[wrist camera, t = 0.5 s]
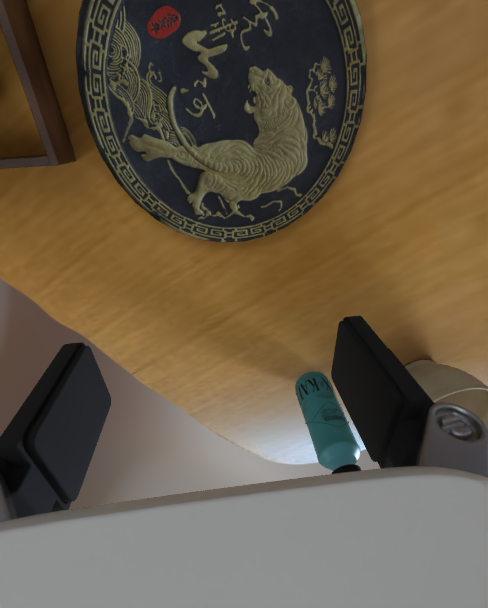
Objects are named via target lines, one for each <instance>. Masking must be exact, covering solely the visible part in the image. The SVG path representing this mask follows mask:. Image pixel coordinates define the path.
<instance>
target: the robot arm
mask: <svg viewBox="0 0 488 608" xmlns="http://www.w3.org/2000/svg"><path fill="white" fill-rule="evenodd" d="M331 375H332V380H333V382H334V384H335V386H336V388H337V390H338V392H339V395H340V397H341V399H342V401H343V403H344V405H345V407H346V409H347V411H348V413H349V415H350V417H351V419H352V421H353V423H354V425H355V427H356V429H357V431H358V433H359V435H360V437H361V439H362V441H363V443H364V445H365V447H366V449H367V451H368V453H369V455H370V457H371V459H372V460H373V461H374V462H376V461H377V462H378V464H379V466H380V468H381V469H374V470H364V471H355V472H345V473H337V474H330V475H322V476H314V477H306V478H298V479H290V480H282V481H275V482H266V483H259V484H251V485H244V486H236V487H229V488H221V489H213V490H205V491H199V492H190V493H183V494H176V495H168V496H161V497H154V498H146V499H139V500H132V501H124V502H118V503H110V504H104V505H95V506H89V507H82V508H76V509H69V507H70V504H71V501H75V500H76V498H77V496H78V494H79V492H80V489H81V486H82V483H83V481H84V478H85V475H86V472H87V469H88V467H89V464H90V461H91V458H92V456H93V452H94V450H95V447H96V445H97V442H98V439H99V436H100V433H101V431H102V428H103V425H104V422H105V420H106V417H107V414H108V411H109V409H110V405H111V397H110V394H109V392H108V389H107V387H106V384H105V382H104V380H103V377H102V375H101V372H100V370H99V367H98V365H97V362H96V360H95V358H94V355H93V353H92V350H91V348H90V347H89V346H85V344H84V343H71V344H65V345H63V347H62V348H61V349H60V351H59V352H58V354H57V355H56V357H55V358H54V360H53V361H52V363H51V364H50V365H49V367H48V368H47V370H46V371H45V373H44V374H43V376H42V377H41V379H40V380H39V381H38V383H37V385H36V386H35V387H34V389H33V390H32V392H31V393H30V395H29V396H28V398H27V399H26V401H25V402H24V403H23V405H22V406H21V408H20V409H19V411H18V412H17V414H16V415H15V417H14V418H13V419H12V421H11V423H10V424H9V425H8V427H7V428H6V430H5V431H4V433H3V434H2V435H1V437H0V608H488V428H487V427H486V425H485V424H484V422H483V421H482V420H481V419H480V418H479V417H478V416H477V415H476V414H474V413H473V412H471V411H470V410H468V409H466V408H464V407H462V406H459V405H456V404H452V403H445V402H441V403H436V404H435V403H434V402H433V401H432V399H431V398H430V397H429V396H428V395H427V393H426V392H425V391H424V390H423V389H422V387H421V386H420V385H419V384H418V383H417V381H416V380H415V379H414V378H413V377H412V375H411V374H410V373H409V372H408V370H407V369H406V368H405V367H404V366H403V364H402V363H401V362H400V361H399V360H398V358H397V357H396V356H395V355H394V354H393V352H392V351H391V350H390V349H389V348H387V347H386V346H385V344H384V343H383V342H382V341H381V340H380V338H379V337H378V336H377V335H376V334H375V332H374V331H373V330H372V329H371V327H370V326H369V325H368V324H367V323H366V321H365V320H364V319H363V318H362V317H361V316H351V317H345V318H344V319H343V321H340V322H339V326H338V333H337V339H336V346H335V352H334V359H333V365H332V372H331ZM68 509H69V510H68Z"/></svg>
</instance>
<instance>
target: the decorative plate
mask: <svg viewBox="0 0 488 608" xmlns="http://www.w3.org/2000/svg"><path fill="white" fill-rule="evenodd" d="M76 61H77V73H78V85H79V92H80V96H81V100H82V104H83V108H84V112H85V116H86V120H87V124H88V127H89V129H90V131H91V134H92V136H93V138H94V141H95V143H96V145H97V148H98V150H99V152H100V155H101V157H102V158H103V160H104V161H105V163H106V165H107V166H108V168H109V169H110V171H111V172H112V174H113V176H114V177H115V179H116V180H117V182H118V183H119V184H120V185H121V186H122V188H123V189H124V190H125V191H126V192H127V193H128V194H129V196H130V197H131V198H132V199H133V200H134V201H135V202H136V203H137V204H138V205H139V206H140V207H142V208H143V209H144V210H145V211H147V212H148V213H149V214H150V215H151V216H153V217H154V218H155V219H156V220H158V221H160V222H162V223H163V224H165V225H167V226H169V227H171V228H172V229H174V230H176V231H178V232H181V233H183V234H186V235H189V236H192V237H195V238H198V239H202V240H209V241H216V242H240V241H248V240H252V239H256V238H260V237H264V236H267V235H269V234H272V233H274V232H276V231H278V230H281V229H283V228H285V227H287V226H288V225H290V224H291V223H293V222H294V221H296V220H297V219H298V218H300V217H301V216H303V215H304V214H306V213H307V212H308V211H309V210H310V209H311V208H312V207H313V206H314V205H315V204H316V203H317V202H318V201H319V200H320V199H321V198H322V197H323V196H324V194H325V193H326V192H327V190H328V189H329V188H330V186H331V185H332V183H333V182H334V181H335V179H336V178H337V177H338V175H339V173H340V171H341V169H342V167H343V165H344V163H345V161H346V159H347V158H348V156H349V154H350V152H351V149H352V146H353V143H354V140H355V137H356V134H357V131H358V128H359V125H360V122H361V117H362V111H363V105H364V99H365V93H366V63H367V54H366V47H365V40H364V33H363V26H362V19H361V15H360V12H359V9H358V6H357V3H356V0H83V1H82V4H81V8H80V12H79V20H78V32H77V43H76Z"/></svg>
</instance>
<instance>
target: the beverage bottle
mask: <svg viewBox="0 0 488 608" xmlns="http://www.w3.org/2000/svg"><path fill="white" fill-rule="evenodd" d="M330 384H331V383H330V382H329V381H328V379H327V377H326V376H325V375H324V374H322V373H320V372H309V373H306V374H304V375H302V376H301V377H300V378H299V379H298V380H297V382H296V395H298V396H297V397H298V398H299V399H298V400H299V404H300V405H301V408H302V412H303V414H304V417H305V418H304V419H305V422H306V423H305V424H307V426H308V429H309V432H310V435H311V438H312V441H313V444H314V448H315V451H316V454H317V458H318V461H319V463H320V464H321V465H322V466H324V467H326V468H328V469H330V470H333V472H332V474H337V473H345V472H355V471H361V469H360V467H359V466H358V465H355V463H356V462H357V460H358V458H359V456H360V447H359V446H358V444H357V442H356V440H355V438H354V436H353V433H352V431H351V429H350V427H349V424H348V423H349V422H348V421H347V420H346V417H345V415H344V412H343V411H342V410H343V409H341V408H342V407H340V405H341V404H339V402H338V400H337V398H336V396H335V394H334V392H333V389H332V388H333V387H331V386H332V385H330Z"/></svg>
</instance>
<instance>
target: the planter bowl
mask: <svg viewBox="0 0 488 608" xmlns="http://www.w3.org/2000/svg"><path fill="white" fill-rule="evenodd" d="M405 368H406V369H407V370H408V372H409V373H410V374H411V375H412V377H413V378H414V379H415V380H416V381H417V383H418V384H419V385H420V386H421V387H422V389H423V390H424V391H425V392H426V393H427V395H428V396H429V397H430V398H431V399H432V401H433V402H434V403H435V404H436V403H441V402H445V403H452V404H456V405H459V406H462V407H464V408H466V409H468V410H470V411H471V412H473V413H474V414H476V415H477V416H478V417H479V418H480V419H481V420H482V421H483V422H484V424H485V425H486V427H487V428H488V387H487V386H486V385H485V384H484V383H482V382H481V381H480V380H478V379H477V378H475V377H474V376H472V375H470V374H468V373H466V372H464V371H462V370H460V369H457V368H454V367H451V366H447V365H442V364H437V363H436V362H434V361H431V360H419V361H415V362H412V363H410V364H408V365H406V366H405Z"/></svg>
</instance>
